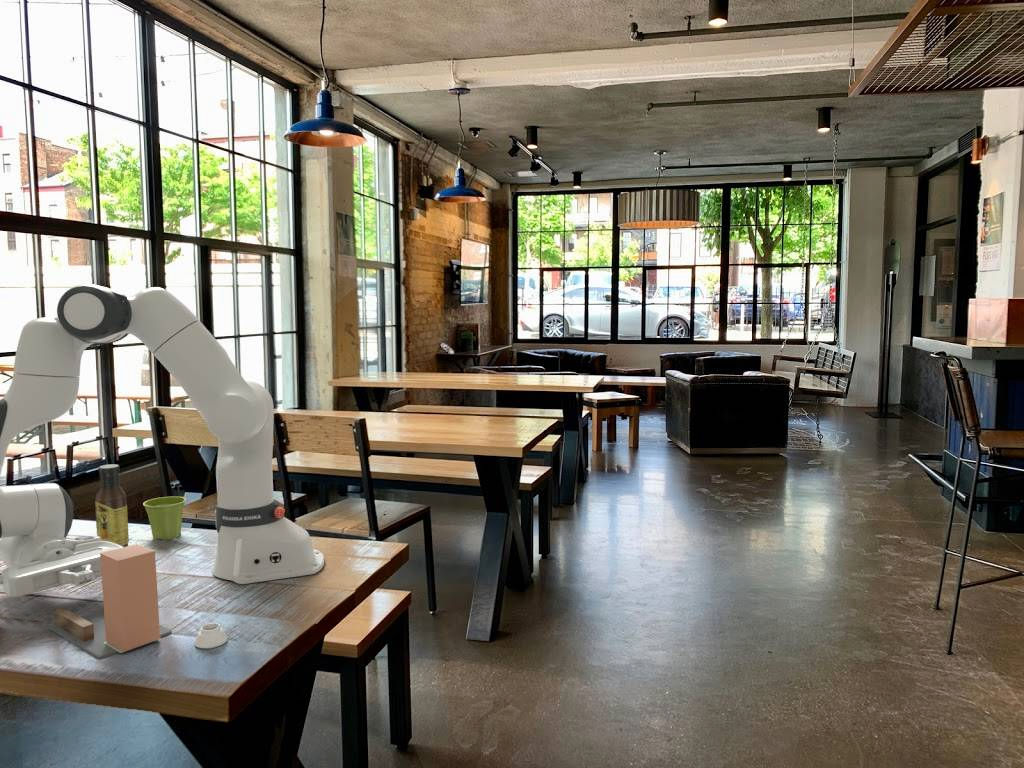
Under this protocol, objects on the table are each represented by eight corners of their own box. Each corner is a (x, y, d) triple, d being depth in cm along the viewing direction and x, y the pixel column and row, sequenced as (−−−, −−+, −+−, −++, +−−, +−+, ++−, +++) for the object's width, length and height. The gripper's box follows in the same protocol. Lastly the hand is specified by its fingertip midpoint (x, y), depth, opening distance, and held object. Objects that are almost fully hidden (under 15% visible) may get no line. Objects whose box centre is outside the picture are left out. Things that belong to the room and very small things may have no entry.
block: (106, 641, 127) (100, 553, 126) (142, 629, 132) (136, 543, 130) (123, 651, 124) (117, 560, 122) (160, 638, 128) (154, 550, 127)
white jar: (231, 645, 128) (222, 634, 132) (230, 627, 127) (221, 618, 131) (199, 653, 125) (191, 642, 129) (198, 635, 124) (190, 625, 128)
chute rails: (55, 624, 135) (54, 611, 134) (114, 606, 142) (113, 593, 142) (84, 641, 128) (83, 627, 128) (144, 621, 136) (143, 607, 135)
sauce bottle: (94, 552, 174) (88, 465, 172) (124, 546, 179) (119, 461, 176) (103, 559, 170) (97, 470, 168) (133, 552, 174) (128, 465, 172)
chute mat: (48, 628, 134) (48, 625, 134) (118, 606, 144) (118, 603, 144) (103, 661, 122) (103, 658, 122) (176, 635, 131) (176, 632, 131)
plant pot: (140, 535, 186) (138, 500, 185) (181, 528, 192) (179, 494, 191) (151, 545, 179) (149, 508, 178) (193, 537, 185) (191, 501, 184)
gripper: (-13, 561, 137) (18, 578, 128) (105, 533, 153) (140, 546, 144) (-11, 595, 137) (21, 614, 129) (107, 564, 154) (142, 579, 145)
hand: (85, 578), depth 137 cm, fingers closed
